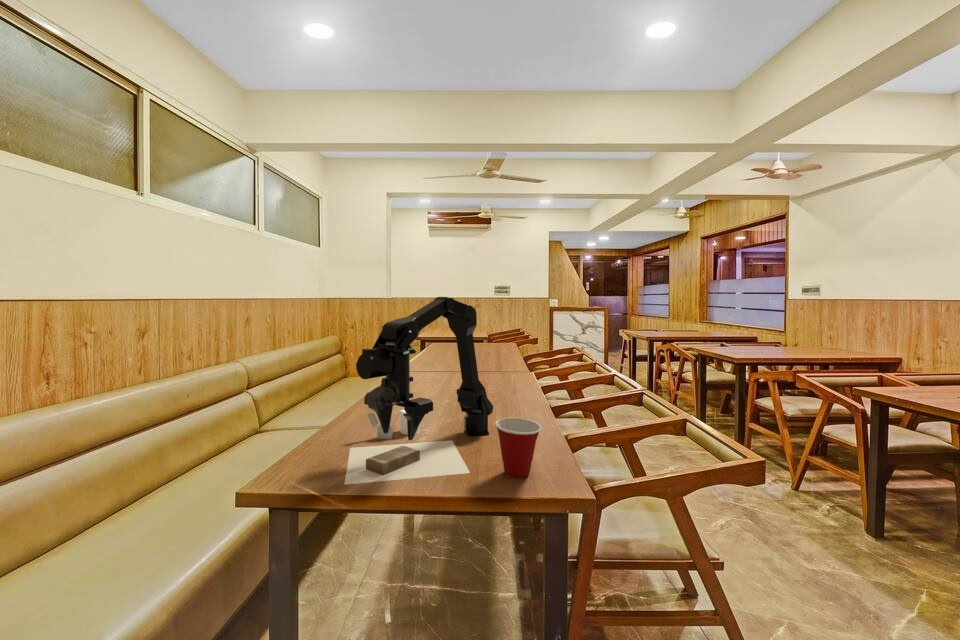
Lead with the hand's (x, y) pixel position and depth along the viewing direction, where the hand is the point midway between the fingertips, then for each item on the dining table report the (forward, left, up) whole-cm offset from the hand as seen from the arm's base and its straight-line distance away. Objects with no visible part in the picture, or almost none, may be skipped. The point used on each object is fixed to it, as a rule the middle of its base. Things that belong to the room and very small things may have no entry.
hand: (398, 436), depth 106 cm
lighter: (+4, -21, -7) cm, 23 cm away
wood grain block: (-3, -3, -5) cm, 7 cm away
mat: (-2, -2, -7) cm, 8 cm away
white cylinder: (-5, -25, -7) cm, 26 cm away
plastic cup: (-27, +12, -7) cm, 30 cm away
